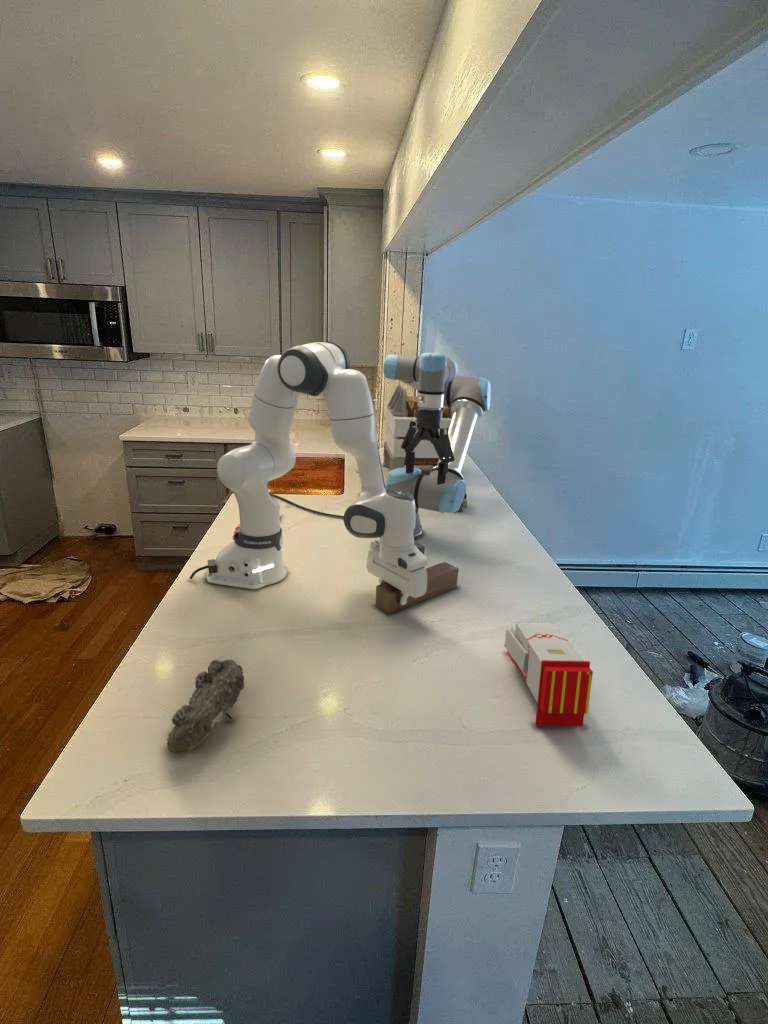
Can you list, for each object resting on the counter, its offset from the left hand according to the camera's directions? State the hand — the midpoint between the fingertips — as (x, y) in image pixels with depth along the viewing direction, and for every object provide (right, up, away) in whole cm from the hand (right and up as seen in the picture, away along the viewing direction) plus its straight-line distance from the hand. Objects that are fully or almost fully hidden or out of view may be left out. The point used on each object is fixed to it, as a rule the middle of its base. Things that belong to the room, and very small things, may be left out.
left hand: (393, 598), depth 151 cm
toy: (+31, -14, -28) cm, 44 cm away
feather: (-41, +20, +58) cm, 74 cm away
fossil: (-35, -16, -43) cm, 58 cm away
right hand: (+10, +33, +21) cm, 41 cm away
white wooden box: (+15, +42, +124) cm, 132 cm away
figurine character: (+27, +25, +79) cm, 87 cm away
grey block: (+6, +5, +20) cm, 22 cm away
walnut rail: (+7, 0, +6) cm, 9 cm away
